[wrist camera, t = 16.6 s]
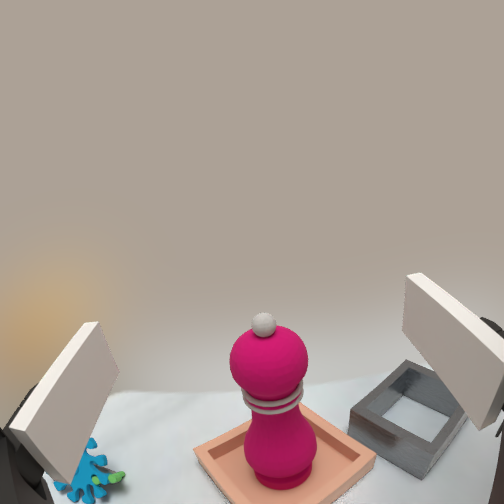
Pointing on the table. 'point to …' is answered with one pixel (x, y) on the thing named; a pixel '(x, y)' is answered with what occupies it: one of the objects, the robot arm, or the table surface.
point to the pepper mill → (274, 403)
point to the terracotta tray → (303, 496)
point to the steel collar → (396, 438)
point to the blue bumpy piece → (90, 476)
